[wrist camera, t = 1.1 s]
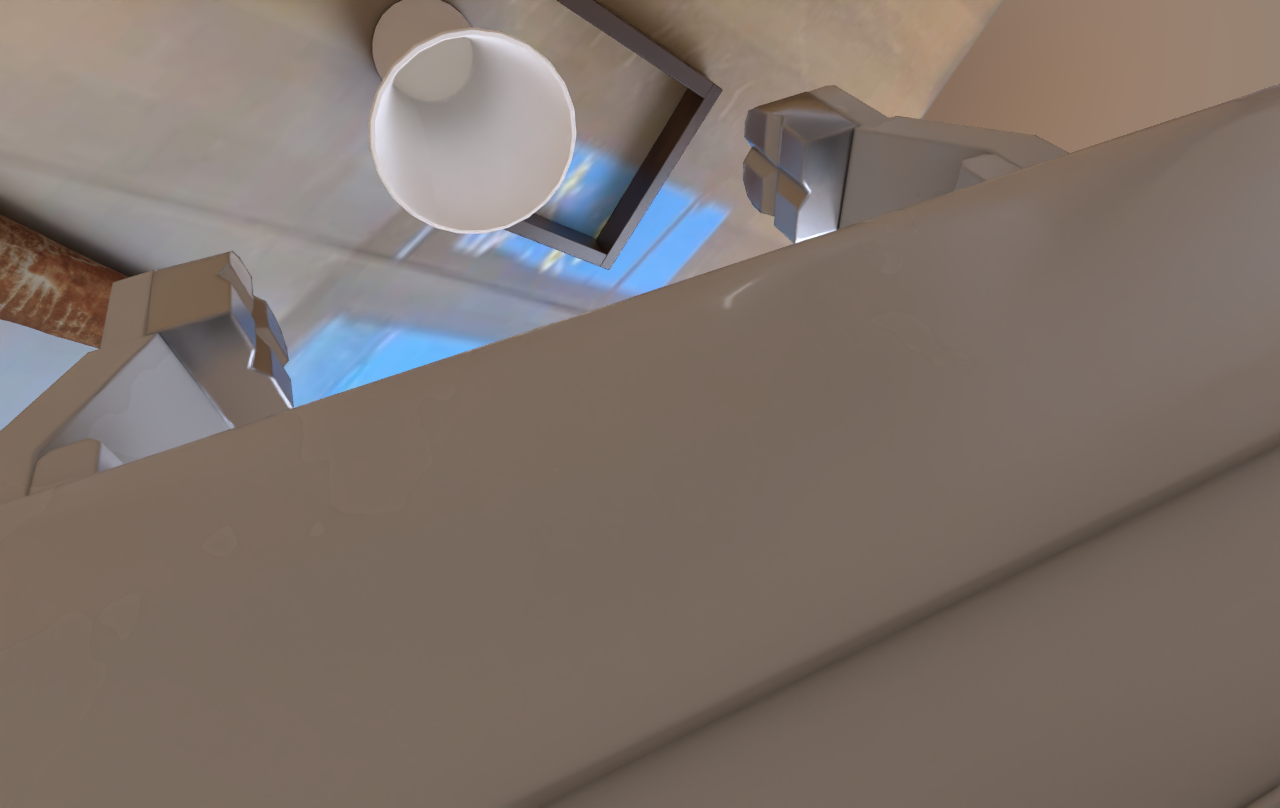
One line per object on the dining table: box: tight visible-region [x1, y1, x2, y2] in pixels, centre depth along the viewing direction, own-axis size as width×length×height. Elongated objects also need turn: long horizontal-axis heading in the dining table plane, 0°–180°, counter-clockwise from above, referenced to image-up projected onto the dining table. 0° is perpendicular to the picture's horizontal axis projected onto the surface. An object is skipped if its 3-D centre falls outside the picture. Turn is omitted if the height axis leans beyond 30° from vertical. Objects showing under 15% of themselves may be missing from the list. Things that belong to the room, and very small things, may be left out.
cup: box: [369, 0, 576, 234], centre depth 40 cm, size 10×10×14 cm
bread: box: [0, 215, 129, 349], centre depth 43 cm, size 6×19×6 cm, turn 38°
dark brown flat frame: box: [505, 0, 722, 270], centre depth 51 cm, size 16×14×2 cm
